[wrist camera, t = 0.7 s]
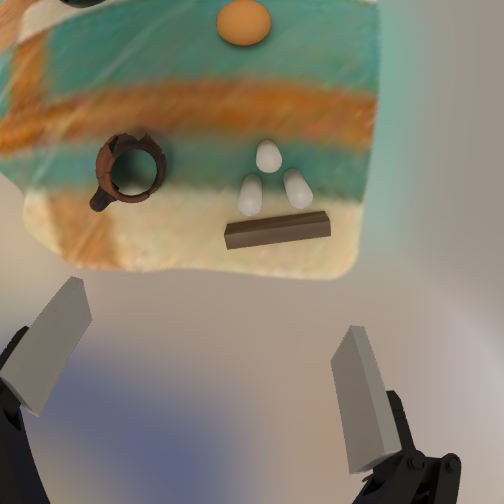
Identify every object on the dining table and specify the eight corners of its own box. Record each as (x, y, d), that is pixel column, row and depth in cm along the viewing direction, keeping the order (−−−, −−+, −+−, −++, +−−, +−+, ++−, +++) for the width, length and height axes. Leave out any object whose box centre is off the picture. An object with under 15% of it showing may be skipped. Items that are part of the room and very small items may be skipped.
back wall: (227, 224, 37) (223, 235, 34) (324, 211, 36) (330, 221, 33) (230, 237, 38) (227, 249, 35) (325, 224, 37) (330, 235, 33)
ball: (216, 15, 24) (208, -3, 18) (265, 7, 23) (266, -12, 18) (224, 54, 27) (216, 42, 21) (274, 46, 26) (277, 33, 21)
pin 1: (241, 175, 34) (234, 194, 26) (260, 172, 34) (259, 190, 26) (244, 193, 35) (239, 217, 28) (263, 190, 35) (263, 214, 27)
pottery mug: (123, 113, 31) (126, 119, 25) (173, 150, 37) (188, 165, 31) (74, 185, 32) (67, 209, 26) (125, 215, 39) (130, 242, 33)
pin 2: (281, 169, 33) (286, 187, 26) (300, 167, 33) (311, 184, 26) (283, 188, 34) (289, 210, 27) (302, 185, 34) (313, 207, 27)
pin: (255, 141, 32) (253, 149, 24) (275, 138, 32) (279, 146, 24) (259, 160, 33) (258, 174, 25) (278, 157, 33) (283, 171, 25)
